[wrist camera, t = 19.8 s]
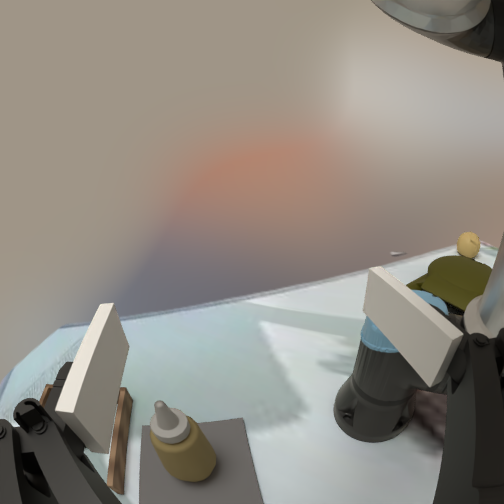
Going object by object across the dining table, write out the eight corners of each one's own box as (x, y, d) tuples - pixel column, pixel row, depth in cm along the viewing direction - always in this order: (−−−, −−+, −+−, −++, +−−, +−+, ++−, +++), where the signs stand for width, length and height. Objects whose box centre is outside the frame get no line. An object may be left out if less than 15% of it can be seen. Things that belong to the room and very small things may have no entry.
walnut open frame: (123, 494, 25) (112, 486, 24) (31, 473, 22) (18, 463, 21) (132, 400, 45) (125, 387, 43) (54, 396, 42) (46, 384, 40)
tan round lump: (477, 262, 87) (482, 238, 83) (454, 255, 96) (458, 232, 92) (478, 254, 94) (482, 232, 90) (456, 248, 103) (460, 226, 99)
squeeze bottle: (225, 451, 35) (205, 384, 28) (213, 493, 27) (182, 442, 21) (178, 442, 36) (143, 372, 29) (162, 480, 29) (113, 421, 22)
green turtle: (479, 336, 51) (491, 305, 47) (400, 291, 77) (406, 263, 73) (507, 293, 64) (515, 269, 60) (447, 264, 90) (451, 241, 86)
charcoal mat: (264, 508, 25) (264, 507, 25) (141, 514, 23) (139, 513, 22) (242, 420, 42) (242, 417, 41) (144, 427, 39) (142, 425, 39)
